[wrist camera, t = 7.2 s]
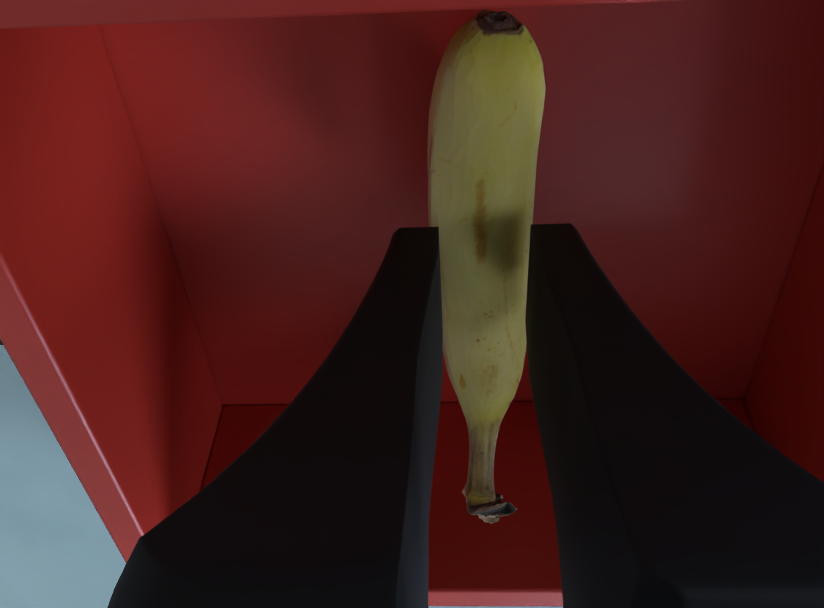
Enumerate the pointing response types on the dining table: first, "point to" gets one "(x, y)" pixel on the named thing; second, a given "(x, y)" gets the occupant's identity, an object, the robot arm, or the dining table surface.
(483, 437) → the banana
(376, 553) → the robot arm
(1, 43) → the cart
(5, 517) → the dining table surface
